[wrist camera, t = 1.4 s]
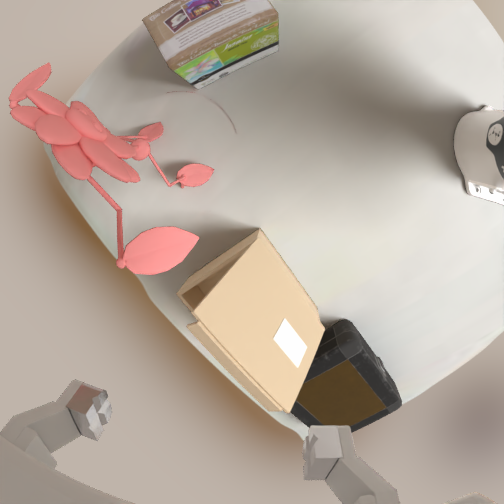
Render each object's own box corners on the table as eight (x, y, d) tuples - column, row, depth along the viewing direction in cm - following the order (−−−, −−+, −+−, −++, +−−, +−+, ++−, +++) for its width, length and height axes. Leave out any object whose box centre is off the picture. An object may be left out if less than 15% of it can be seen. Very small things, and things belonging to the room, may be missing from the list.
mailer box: (317, 307, 52) (321, 328, 46) (247, 346, 57) (242, 368, 50) (260, 228, 49) (256, 239, 42) (188, 277, 53) (176, 294, 46)
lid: (313, 331, 47) (325, 328, 45) (273, 415, 35) (288, 416, 33) (247, 243, 43) (259, 236, 42) (179, 318, 31) (191, 314, 29)
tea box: (199, 92, 43) (166, 69, 29) (175, 49, 40) (137, 18, 26) (281, 52, 39) (279, 12, 25) (252, 10, 37) (241, -36, 23)
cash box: (398, 382, 57) (407, 405, 50) (325, 421, 63) (328, 444, 55) (349, 312, 52) (358, 335, 45) (264, 363, 58) (261, 388, 51)
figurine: (213, 226, 49) (101, 349, 16) (117, 126, 45) (-52, 115, 12) (281, 163, 45) (290, 166, 12) (175, 62, 41) (41, -36, 8)
